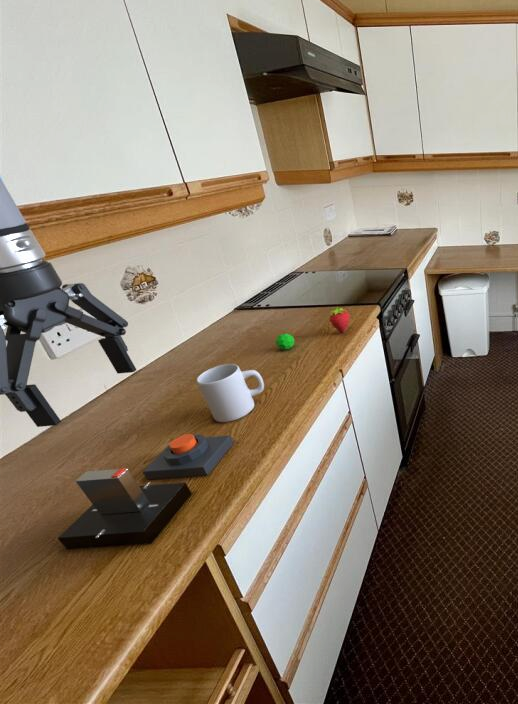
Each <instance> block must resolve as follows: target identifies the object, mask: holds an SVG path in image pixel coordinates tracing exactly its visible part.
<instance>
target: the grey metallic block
mask: <svg viewBox="0 0 518 704" xmlns="http://www.w3.org/2000/svg"><path fill="white" fill-rule="evenodd" d="M75 483H76V484H77V486H79V488H80V489H81V491H82V492H83V493H84V495H85V496H86V498H87V499H88V500H89V502H90V503H91V504H92V505H94V507H95V508H96V510H97V511H98V512H99V514H114V513H127V512H140V511H142V510H143V508H144V507H145V506H146V505H147V504H148V503H149V500H148V499H147V497H146V496H145V494H144V493H143V491H142V490H141V488H140V487H139V486H140V485H139V484H138V482H137V480H136V479H135V477H134V476H133V474H132V473H131V471H130V469H129V468H125V467H122V468H117V469H104V470H91V471H90V470H89V471H85V472H84V473H82V475H81V476H79V477H77V479H75Z"/></svg>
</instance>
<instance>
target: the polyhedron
mask: <svg viewBox="0 0 518 704" xmlns="http://www.w3.org/2000/svg"><path fill="white" fill-rule="evenodd" d="M294 344H295V338H294V336H292V334H289V333H281V334H280V335H278V337H276V340H275V345H276V347H277V348H278V349H280V350H281V351H283V350H287V351H288V350H290V349H292V347H293V346H294Z"/></svg>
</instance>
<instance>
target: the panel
mask: <svg viewBox="0 0 518 704" xmlns="http://www.w3.org/2000/svg"><path fill="white" fill-rule="evenodd" d="M139 487H140V488H141V490H142V491H143V493H144V494H145V496H146V497H147V499H148V500H149V503H148V504H147V505H146V506H145V507H144V508H143V510H142V511H140V512H127V513H114V514H99V512H98V511H97V510H96V508H95V507H94V505H93V504H92V505H90V506H89V507H88V508H87V509H86V510H84V512H83V513H82V514H81V515H80V516H79V517H77V519H76V520H74V521H73V522H72V523H71V524H70V525H69V526H68V527H67V528H66V529H65V530H64V531H63V532H62V533H61V534H60V535H58V537H57V540H58V541H59V542H60V543H61V545H63V547H64V548H65V549H66V550H67V551H69V550H70V551H71V550H84V549H95V548H96V549H97V548H108V547H109V548H110V547H123V546H124V547H125V546H137V545H147V544H152V543H153V542H154V541H155V540H156V539H157V537H158V536H159V535H160V533H162V531H163V530H164V529H165V528H166V526H167V525H168V524H169V523H170V522H171V520H172V519H173V518H174V517H175V515H176V514H177V513H178V512H179V511H180V509H181V508H182V507H183V505H184V504H185V503H186V502H187V501H188V500H189V498H190V497H191V496H192V495H193V493H192V491H191V490H190V488H189V486H188V484H187V483H186V482H176V483H175V482H174V483H162V484H152V482H151V481H148V482H147V483H146V484H145V485H139Z"/></svg>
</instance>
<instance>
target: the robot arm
mask: <svg viewBox="0 0 518 704" xmlns="http://www.w3.org/2000/svg"><path fill="white" fill-rule="evenodd" d="M45 257H46V253H45V251H44V250H43V248H42V246H41V245H40V243H39V241H38V239H37V238H36V236H35V234H34V233H33V230H31V228H30V226H29V224H28V223H27V221H26V220H25V218H24V215H23V214H22V213H21V210H20V209H19V207H18V205H17V204H16V202H15V200H14V199H13V196H12V195H11V193H10V191H9V190H8V188H7V187H6V184H5V183H4V181H3V177H2V175H1V174H0V396H2V395H5V396H6V398H7V399H8V401H10V403H11V404H12V405H13V407H14V408H15V410H16V411H18V412H20V413H24V412H25V413H26V414H27V415H28V416H29V418H30V420H32V423H34V425H35V426H36V427H37V428H41V427H43V428H44V427H52V426H53V427H55V426H59V424H61V423H62V420H61V419H60V417H59V416H58V414H57V413H56V412H55V410H54V409H53V407H52V405H50V403H49V402H48V400H47V399H46V398H45V396H44V395H43V393H42V392H41V391H40V389H39V388H38V386H37V384H36V383H33V384H28V380H29V375H30V371H31V366H32V363H33V362H32V360H33V358H34V352H35V347H36V343H37V341H39V340H40V339H41V336H42V334H45V333H47V332H50V331H52V329H54V328H55V327H58V326H62V325H65V324H68V325H71V326H74V327H76V328H79V329H82V330H84V331H86V332H89V333H92V334H95V335H97V336H100V337H103V338H100V339H98V340H97V341H98V343H99V345H100V347H101V348H102V350H103V352H104V354H105V355H106V357H107V359H108V361H109V362H110V363H111V365H112V367H113V368H114V371H115V372H116V374H130V373H135V372H136V371H137V368H136V366H135V364H134V362H133V361H132V359H131V357H130V355H129V354H128V351H129V350H128V346H127V344H126V342H125V340H124V339H123V337H122V336H125V335H126V333H127V330H126V328H127V327H128V326H129V321H127V320H126V319H125V318H124V317H122V316H121V315H119V314H118V313H117V312H116V311H114V310H113V309H112V308H110V307H109V306H108V305H106V304H105V303H104V302H102V301H101V300H100V299H98V298H97V297H96V296H94V295H93V294H92V293H91V291H90V290H89V288H88V287H87V285H86V284H85V283H83V282H77V283H65V284H63V281H62V279H61V278H60V276H59V274H58V272H57V270H56V268H55V267H54V265H53V264H52V262H49V261H47V260H43V259H45ZM70 301H71V302H72V303H73V304H75V305H76V306H77V307H78V308H80V309H81V310H80V309H77V308H75V307H73V306H71V305H70ZM83 311H84V312H86V313H87V314H89V315H87V314H85V313H84V312H83ZM5 330H6V331H5ZM4 331H5V332H4Z"/></svg>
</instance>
